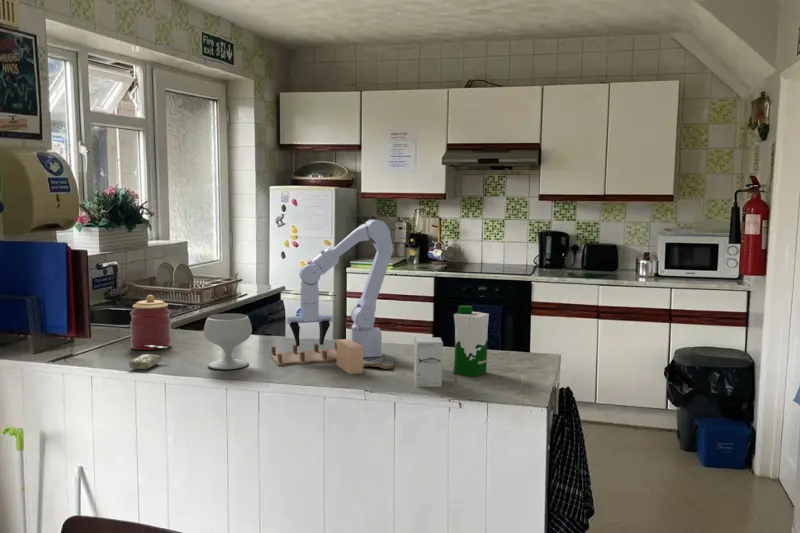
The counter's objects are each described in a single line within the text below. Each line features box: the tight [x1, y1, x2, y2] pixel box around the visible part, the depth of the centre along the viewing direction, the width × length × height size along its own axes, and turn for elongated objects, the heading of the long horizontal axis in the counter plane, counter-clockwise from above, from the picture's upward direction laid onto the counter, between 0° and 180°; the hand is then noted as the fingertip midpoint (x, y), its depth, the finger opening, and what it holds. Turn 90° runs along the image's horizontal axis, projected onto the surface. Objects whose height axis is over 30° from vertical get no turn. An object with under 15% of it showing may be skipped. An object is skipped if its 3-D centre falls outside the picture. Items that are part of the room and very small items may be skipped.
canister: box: [129, 294, 172, 351], centre depth 232 cm, size 13×13×18 cm
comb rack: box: [268, 341, 337, 367], centre depth 220 cm, size 23×15×3 cm, turn 111°
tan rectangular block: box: [335, 338, 364, 375], centre depth 206 cm, size 4×12×8 cm, turn 24°
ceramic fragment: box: [363, 356, 395, 370], centre depth 210 cm, size 11×3×10 cm
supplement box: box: [413, 336, 444, 388], centre depth 190 cm, size 7×7×13 cm
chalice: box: [203, 312, 253, 370], centre depth 208 cm, size 14×14×15 cm
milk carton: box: [453, 304, 490, 378], centre depth 201 cm, size 9×9×20 cm
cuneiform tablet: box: [128, 345, 169, 370], centre depth 207 cm, size 7×4×12 cm
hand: (309, 345), depth 220 cm, fingers open, 7 cm apart
